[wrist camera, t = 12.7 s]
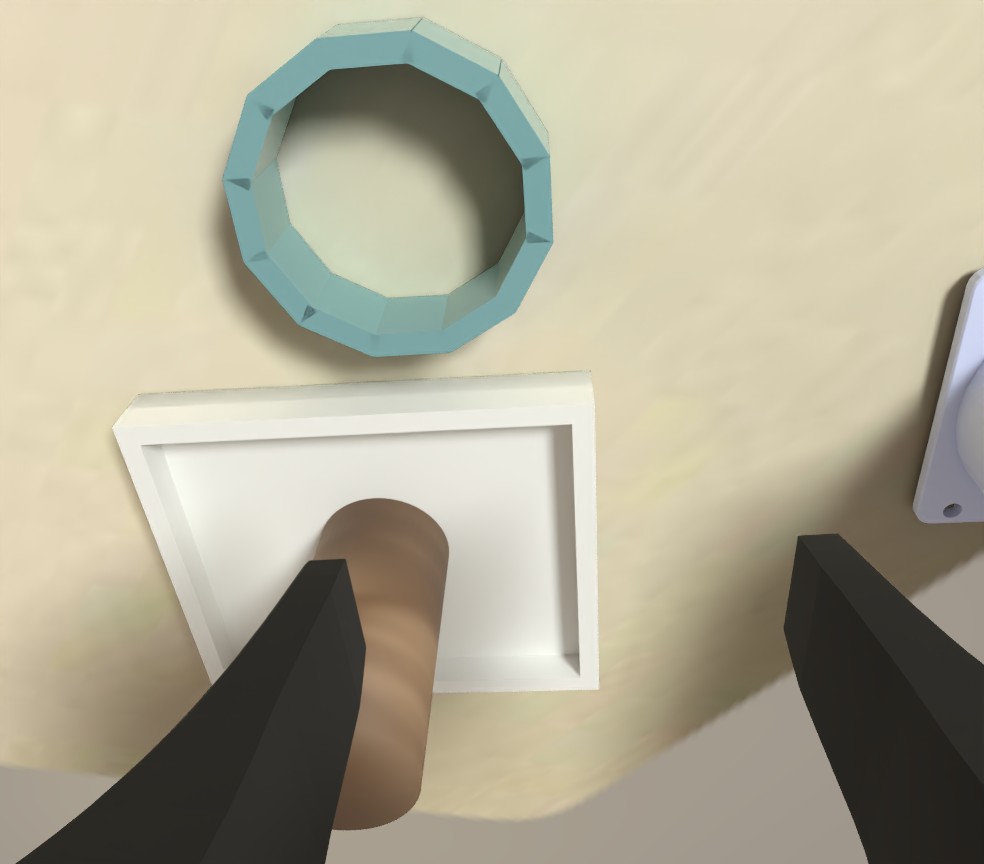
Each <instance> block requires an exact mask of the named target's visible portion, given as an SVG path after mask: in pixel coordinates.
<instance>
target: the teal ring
mask: <svg viewBox="0 0 984 864" xmlns="http://www.w3.org/2000/svg"><path fill="white" fill-rule="evenodd" d="M405 63H408V64H410V65H412V66H414V67H416V68H418V69H420V70H422V71H424V72H426V73H428V74H430V75H432V76H434V77H436V78H437V79H439V80H441V81H443V82H445V83H447V84H449V85H451V86H453V87H455V88H457V89H459V90H461V91H463V92H465V93H467V94H469V95H471V96H473V97H475V98H477V99H479V100H480V102H481V103H482V105H483V106H484V108H485V109H486V111H487V112H488V114H489V115H490V117H491V118H492V120H493V121H494V123H495V125H496V126H497V128H498V129H499V131H500V132H501V134H502V135H503V137H504V138H505V140H506V141H507V143H508V144H509V146H510V147H511V149H512V151H513V152H514V154H515V155H516V157H517V158H518V160H519V161H520V163H521V164H522V172H523V188H524V205H525V211H524V213H523V215H522V217H521V219H520V221H519V223H518V225H517V227H516V229H515V231H514V233H513V235H512V237H511V239H510V241H509V243H508V245H507V247H506V249H505V251H504V253H503V255H502V257H501V259H500V261H499V262H498V263H497V264H495V265H494V266H492V267H491V268H489V269H488V270H486V271H484V272H483V273H481V274H480V275H478V276H477V277H475V278H474V279H472V280H470V281H469V282H467V283H466V284H464V285H463V286H461V287H460V288H458V289H456V290H455V291H453V292H452V293H450V294H449V295H435V296H418V297H402V298H387V297H384V296H382V295H380V294H378V293H375V292H373V291H371V290H369V289H366V288H364V287H362V286H360V285H357V284H355V283H353V282H350V281H348V280H346V279H344V278H341V277H339V276H337V275H335V274H332V273H331V272H330V271H329V270H328V268H327V267H326V266H325V265H324V263H323V262H322V261H321V260H320V259H319V257H318V256H317V255H316V254H315V253H314V251H313V250H312V249H311V248H310V247H309V245H308V244H307V243H306V242H305V241H304V239H303V238H302V237H301V236H300V234H299V233H298V232H297V231H296V230H295V228H294V227H293V226H292V225H291V224H290V220H289V215H288V211H287V206H286V202H285V197H284V192H283V188H282V183H281V178H280V174H279V169H278V165H277V160H276V158H277V155H278V152H279V148H280V145H281V142H282V139H283V136H284V133H285V130H286V127H287V124H288V121H289V118H290V115H291V111H292V108H293V105H294V102H295V99H296V96H298V95H299V94H300V93H301V92H303V91H304V90H305V89H306V88H308V87H309V86H310V85H311V84H313V83H314V82H315V81H316V80H318V79H319V78H320V77H321V76H322V75H324V74H325V73H326V72H327V71H329V70H331V69H343V68H356V67H368V66H380V65H392V64H405ZM223 184H224V188H225V192H226V196H227V200H228V203H229V207H230V211H231V215H232V219H233V223H234V227H235V231H236V235H237V239H238V243H239V247H240V251H241V255H242V259H243V262H244V264H245V265H246V266H247V267H248V268H249V269H250V270H251V272H252V273H253V274H254V275H255V276H256V277H257V278H258V280H259V281H260V282H261V283H262V284H263V285H264V286H265V288H266V289H267V290H268V291H269V292H270V293H271V294H272V295H273V297H274V298H275V299H276V300H277V301H278V302H279V303H280V305H281V306H282V307H283V308H284V309H285V310H286V311H287V313H288V314H289V315H290V316H291V317H292V318H293V319H294V321H295V322H296V323H297V324H298V325H299V324H300V325H299V326H301V327H304V328H306V329H308V330H311V331H313V332H315V333H318V334H320V335H322V336H325V337H327V338H329V339H332V340H334V341H336V342H339V343H341V344H344V345H346V346H348V347H351V348H353V349H355V350H358V351H360V352H362V353H365V354H367V355H369V356H373V357H382V356H400V355H419V354H437V353H450V352H452V351H454V350H456V349H457V348H459V347H460V346H462V345H464V344H465V343H467V342H469V341H470V340H472V339H474V338H475V337H477V336H478V335H480V334H482V333H483V332H485V331H487V330H488V329H490V328H491V327H493V326H495V325H496V324H498V323H500V322H501V321H503V320H505V319H506V318H508V317H509V316H511V315H513V314H514V313H515V312H516V311H517V309H518V307H519V305H520V304H521V302H522V300H523V298H524V296H525V294H526V292H527V291H528V289H529V287H530V285H531V283H532V281H533V279H534V278H535V276H536V274H537V272H538V270H539V268H540V266H541V264H542V263H543V261H544V259H545V257H546V255H547V253H548V251H549V250H550V248H551V246H552V244H553V223H552V199H551V175H550V154H549V142H548V132H547V130H546V128H545V127H544V125H543V123H542V122H541V120H540V119H539V117H538V115H537V114H536V112H535V111H534V109H533V107H532V106H531V104H530V103H529V101H528V99H527V98H526V96H525V95H524V93H523V91H522V90H521V88H520V87H519V85H518V83H517V82H516V80H515V79H514V77H513V75H512V74H511V72H510V71H509V69H508V68H507V66H506V64H505V63H504V61H503V60H502V59H501V58H500V57H498V56H496V55H495V54H493V53H491V52H489V51H487V50H485V49H483V48H481V47H479V46H477V45H475V44H474V43H472V42H470V41H468V40H466V39H464V38H462V37H460V36H458V35H456V34H454V33H453V32H451V31H449V30H447V29H445V28H443V27H441V26H439V25H437V24H435V23H433V22H432V21H430V20H428V19H426V18H423V17H419V18H408V19H396V20H384V21H373V22H361V23H349V24H338V25H336V26H335V27H333V28H332V29H330V30H328V31H327V32H325V33H324V34H322V35H321V36H319V37H318V38H316V39H315V40H314V41H312V42H311V43H310V44H309V45H307V46H306V47H305V48H304V49H303V50H301V51H300V52H299V53H298V54H297V55H295V56H294V57H293V58H292V59H290V60H289V61H288V62H287V63H286V64H284V65H283V66H282V67H281V68H280V69H278V70H277V71H276V72H275V73H273V74H272V75H271V76H270V77H269V78H267V79H266V80H265V81H264V82H263V83H261V84H260V85H259V86H258V87H257V88H255V89H254V90H253V91H252V92H250V93H249V94H248V96H247V97H246V100H245V104H244V107H243V110H242V114H241V117H240V121H239V124H238V127H237V131H236V134H235V138H234V141H233V145H232V148H231V151H230V155H229V158H228V162H227V165H226V168H225V172H224V175H223Z"/></svg>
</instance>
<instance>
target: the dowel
mask: <svg viewBox="0 0 984 864" xmlns="http://www.w3.org/2000/svg"><path fill="white" fill-rule="evenodd" d="M329 559H346V562H347V566H348V571H349V575H350V579H351V583H352V588H353V592H354V596H355V601H356V605H357V609H358V613H359V618H360V622H361V626H362V631H363V635H364V639H365V644H366V656H365V666H364V677H363V686H362V694H361V703H360V709H359V714H358V718H357V723H356V727H355V731H354V736H353V740H352V745H351V749H350V754H349V758H348V762H347V766H346V771H345V775H344V779H343V784H342V788H341V792H340V796H339V801H338V805H337V809H336V814H335V818H334V822H333V826H332V829H334V830H361V829H369V828H374V827H378V826H382V825H384V824H388V823H390V822H392V821H394V820H397V819H398V818H400V817H401V816H403V815H404V814H406V813H407V812H408V811H409V810H410V809H411V808H412V807H413V806H414V805H415V803H416V801H417V800H418V797H419V795H420V791H421V783H422V775H423V766H424V758H425V750H426V742H427V733H428V725H429V717H430V709H431V700H432V692H433V684H434V675H435V667H436V659H437V651H438V642H439V634H440V626H441V618H442V609H443V601H444V593H445V585H446V576H447V568H448V560H449V545H448V541H447V538H446V536H445V534H444V532H443V530H442V528H441V527H440V526H439V525H438V523H437V522H436V521H435V520H434V519H433V518H432V517H431V516H429V515H428V514H427V513H426V512H424V511H422V510H421V509H419V508H417V507H415V506H413V505H411V504H408V503H405V502H402V501H398V500H394V499H386V498H371V499H364V500H359V501H356V502H353V503H350V504H348V505H346V506H344V507H342V508H341V509H339V510H338V511H336V512H335V513H334V514H333V515H332V516H331V517H330V519H329V520H328V521H327V523H326V524H325V526H324V529H323V531H322V534H321V537H320V540H319V543H318V547H317V550H316V553H315V556H314V559H313V560H329Z"/></svg>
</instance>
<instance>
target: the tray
mask: <svg viewBox="0 0 984 864" xmlns="http://www.w3.org/2000/svg"><path fill="white" fill-rule="evenodd" d="M112 429H113V432H114V434H115V437H116V439H117V442H118V444H119V447H120V450H121V452H122V455H123V457H124V460H125V463H126V465H127V468H128V470H129V473H130V475H131V478H132V481H133V483H134V486H135V488H136V491H137V493H138V496H139V499H140V501H141V504H142V506H143V509H144V511H145V514H146V517H147V519H148V522H149V524H150V527H151V530H152V532H153V535H154V537H155V540H156V542H157V545H158V548H159V550H160V553H161V555H162V558H163V560H164V563H165V566H166V568H167V571H168V573H169V576H170V579H171V581H172V584H173V586H174V589H175V591H176V594H177V597H178V599H179V602H180V604H181V607H182V609H183V612H184V615H185V617H186V620H187V622H188V625H189V628H190V630H191V633H192V635H193V638H194V640H195V643H196V646H197V648H198V651H199V653H200V656H201V658H202V661H203V664H204V666H205V669H206V671H207V674H208V676H209V679H210V682H211V684H212V685H213V684H214V683H215V682H216V680H217V679H218V678H219V677H220V676H221V675H222V673H223V672H224V671H225V670H226V669H227V668H228V666H229V665H230V664H231V663H232V662H233V660H234V659H235V658H236V657H237V655H238V654H239V653H240V651H241V650H242V649H243V648H244V646H245V645H246V644H247V642H248V641H249V640H250V639H251V637H252V636H253V635H254V633H255V632H256V631H257V630H258V628H259V627H260V626H261V624H262V623H263V622H264V620H265V619H266V618H267V616H268V615H269V614H270V612H271V611H272V609H273V608H274V607H275V605H276V604H277V603H278V601H279V600H280V598H281V597H282V596H283V594H284V593H285V591H286V590H287V589H288V587H289V586H290V584H291V583H292V582H293V580H294V579H295V577H296V576H297V575H298V573H299V572H300V570H301V569H302V568H303V566H304V565H305V564H306V563H307V562H308V561H309V560H313V559H314V556H315V553H316V550H317V547H318V543H319V540H320V537H321V534H322V531H323V529H324V526H325V524H326V523H327V521H328V520H329V519H330V517H331V516H332V515H333V514H334V513H335V512H336V511H338V510H339V509H341V508H342V507H344V506H346V505H348V504H350V503H353V502H356V501H359V500H364V499H371V498H386V499H394V500H398V501H402V502H405V503H408V504H411V505H413V506H415V507H417V508H419V509H421V510H422V511H424V512H426V513H427V514H428V515H429V516H431V517H432V518H433V519H434V520H435V521H436V522H437V523H438V525H439V526H440V527H441V528H442V530H443V532H444V534H445V536H446V538H447V541H448V545H449V560H448V568H447V576H446V585H445V593H444V601H443V609H442V618H441V626H440V634H439V642H438V651H437V659H436V667H435V675H434V684H433V692H432V693H469V692H510V691H551V690H591V689H599V654H598V588H597V523H596V457H595V402H594V395H593V387H592V380H591V372H590V371H571V372H552V373H533V374H514V375H495V376H476V377H457V378H438V379H419V380H401V381H382V382H363V383H344V384H325V385H306V386H287V387H268V388H249V389H230V390H211V391H192V392H173V393H155V394H138V395H137V397H136V398H135V399H134V401H133V402H132V403H131V404H130V406H129V407H128V408H127V409H126V411H125V412H124V413H123V414H122V416H121V417H120V418H119V419H118V421H117V422H116V423H115V425H114V426H113V427H112Z"/></svg>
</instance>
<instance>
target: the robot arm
mask: <svg viewBox="0 0 984 864" xmlns="http://www.w3.org/2000/svg"><path fill="white" fill-rule="evenodd" d="M954 503H955V505H954V506H953V507H951V508H949V509H945V507H947V506H948V505H950V504H954ZM944 509H945V510H944ZM913 511H914V512H915V514H916V516H917V517H918V519H919V520H920V521H922V522H924V523H930V524H933V523H959V522H984V268H982V269H980V270H979V271H977V272H975V273H974V275H973V276H972V277H971V278H970V279H969V281H968V283H967V285H966V289H965V293H964V297H963V302H962V306H961V310H960V314H959V318H958V322H957V326H956V330H955V334H954V338H953V342H952V347H951V351H950V355H949V359H948V363H947V367H946V371H945V375H944V379H943V383H942V387H941V392H940V396H939V400H938V404H937V408H936V412H935V416H934V420H933V424H932V428H931V432H930V436H929V441H928V445H927V449H926V453H925V457H924V461H923V465H922V469H921V473H920V477H919V481H918V486H917V490H916V494H915V498H914V502H913ZM784 632H785V636H786V640H787V644H788V648H789V652H790V655H791V659H792V663H793V667H794V670H795V674H796V677H797V681H798V684H799V688H800V691H801V693H802V695H803V698H804V700H805V703H806V706H807V708H808V710H809V713H810V716H811V718H812V721H813V723H814V725H815V728H816V730H817V733H818V735H819V738H820V740H821V743H822V745H823V747H824V750H825V752H826V755H827V757H828V759H829V762H830V764H831V767H832V769H833V772H834V774H835V776H836V779H837V781H838V784H839V786H840V789H841V791H842V793H843V796H844V798H845V801H846V803H847V805H848V808H849V810H850V812H851V815H852V818H853V820H854V822H855V825H856V828H857V831H858V834H859V836H860V839H861V842H862V845H863V847H864V850H865V853H866V856H867V860H868V863H869V864H984V665H983V664H982V663H981V662H980V661H978V660H977V659H976V658H975V657H973V656H972V655H971V654H970V653H968V652H967V651H966V650H965V649H963V648H962V647H961V646H960V645H959V644H957V643H956V642H955V641H954V640H953V639H952V638H950V637H949V636H948V635H947V634H946V633H945V632H943V631H942V630H941V629H940V628H939V627H938V626H937V625H935V624H934V623H933V622H932V621H931V620H930V619H929V618H928V617H926V616H925V615H924V614H923V613H922V612H921V611H920V610H918V609H917V608H916V607H915V606H914V605H913V604H912V603H911V602H910V601H909V600H908V599H906V598H905V597H904V596H903V595H902V594H901V593H900V592H899V591H898V590H897V589H896V588H895V587H894V586H893V585H891V584H890V583H889V582H888V581H887V580H886V579H885V578H884V577H883V576H882V575H881V574H880V573H879V572H878V571H877V570H876V569H875V568H874V567H872V566H871V565H870V564H869V563H868V562H867V561H866V560H865V559H864V558H863V557H862V556H861V555H860V554H859V553H858V552H857V551H856V550H855V549H854V548H853V547H851V546H850V545H849V544H848V543H847V542H846V541H845V540H844V539H843V538H842V537H841V536H840V535H839V534H825V535H805V536H798V540H797V547H796V553H795V559H794V566H793V572H792V579H791V585H790V591H789V598H788V604H787V610H786V617H785V623H784ZM365 656H366V644H365V639H364V635H363V631H362V626H361V622H360V618H359V613H358V609H357V605H356V601H355V596H354V592H353V588H352V583H351V579H350V575H349V571H348V566H347V562H346V559H329V560H309V561H308V562H307V563H306V564H305V565H304V566H303V568H302V569H301V570H300V572H299V573H298V575H297V576H296V577H295V579H294V580H293V582H292V583H291V584H290V586H289V587H288V589H287V590H286V591H285V593H284V594H283V596H282V597H281V598H280V600H279V601H278V603H277V604H276V605H275V607H274V608H273V609H272V611H271V612H270V614H269V615H268V616H267V618H266V619H265V620H264V622H263V623H262V624H261V626H260V627H259V628H258V630H257V631H256V632H255V633H254V635H253V636H252V637H251V639H250V640H249V641H248V642H247V644H246V645H245V646H244V648H243V649H242V650H241V651H240V653H239V654H238V655H237V657H236V658H235V659H234V660H233V662H232V663H231V664H230V665H229V666H228V668H227V669H226V670H225V671H224V672H223V673H222V675H221V676H220V677H219V678H218V679H217V680H216V682H215V683H214V684H213V685H212V686H211V687H210V689H209V690H208V691H207V692H206V693H205V694H204V696H203V697H202V698H201V699H200V700H199V701H198V703H197V704H196V705H195V706H194V707H193V708H192V709H191V710H190V711H189V712H188V714H187V715H186V716H185V717H184V718H183V719H182V720H181V721H180V722H179V723H178V724H177V725H176V726H175V727H174V728H173V729H172V730H171V732H170V733H169V734H168V735H167V736H166V737H165V738H164V739H163V740H162V741H161V742H160V743H159V744H158V745H157V746H156V747H155V748H154V749H153V750H152V751H151V752H150V753H148V754H147V755H146V756H145V757H144V758H143V759H142V760H141V761H140V762H139V763H138V764H137V765H136V766H135V767H133V768H132V769H131V770H130V771H129V772H128V773H127V774H126V775H125V776H124V777H123V778H121V779H120V780H119V781H118V782H117V783H116V784H115V785H113V786H112V787H111V788H110V789H109V790H108V791H107V792H105V793H104V794H103V795H102V796H101V797H100V798H99V799H98V800H96V801H95V802H94V803H93V804H92V805H91V806H90V807H88V808H87V809H86V810H85V811H84V812H82V813H81V814H80V815H79V816H77V817H76V818H75V819H73V820H72V821H71V822H70V823H68V824H67V825H66V826H65V827H63V828H62V829H61V830H60V831H59V832H57V833H56V834H55V835H53V836H52V837H51V838H49V839H48V840H47V841H46V842H44V843H43V844H41V845H40V846H39V847H37V848H36V849H35V850H33V851H32V852H31V853H29V854H28V855H27V856H25V857H24V858H23V859H21V860H20V861H19V862H17V863H16V864H325V860H326V855H327V850H328V845H329V839H330V834H331V831H332V826H333V822H334V818H335V814H336V809H337V805H338V801H339V796H340V792H341V788H342V784H343V779H344V775H345V771H346V766H347V762H348V758H349V754H350V749H351V745H352V740H353V736H354V731H355V727H356V723H357V718H358V714H359V709H360V703H361V694H362V686H363V677H364V666H365Z"/></svg>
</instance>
